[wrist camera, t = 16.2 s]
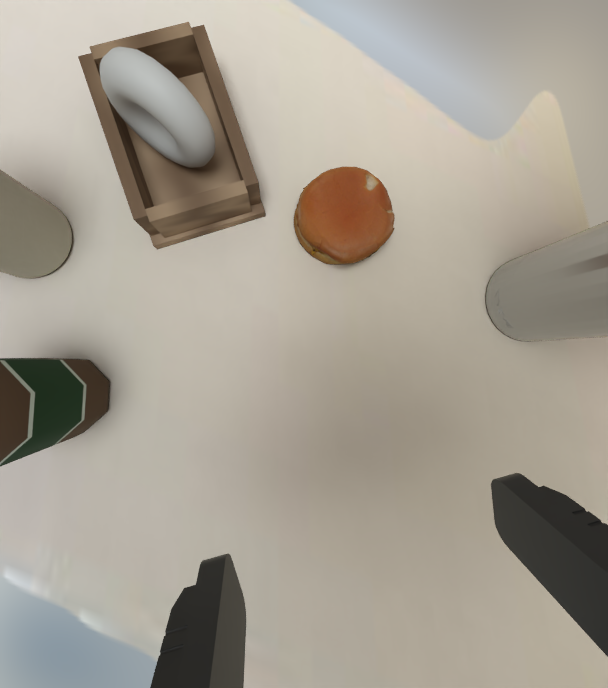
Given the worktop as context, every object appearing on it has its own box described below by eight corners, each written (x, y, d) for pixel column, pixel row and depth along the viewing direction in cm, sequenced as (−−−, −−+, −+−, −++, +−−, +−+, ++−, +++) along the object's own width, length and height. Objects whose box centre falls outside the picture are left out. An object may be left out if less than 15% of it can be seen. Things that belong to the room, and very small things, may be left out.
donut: (230, 164, 34) (210, 84, 24) (212, 192, 34) (184, 123, 24) (145, 109, 33) (89, 4, 24) (125, 137, 33) (60, 43, 23)
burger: (282, 249, 35) (283, 232, 31) (312, 169, 36) (318, 141, 31) (368, 282, 36) (382, 271, 31) (396, 203, 36) (414, 181, 32)
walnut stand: (212, 62, 35) (201, 14, 30) (265, 215, 35) (263, 192, 30) (103, 91, 34) (73, 46, 29) (157, 249, 34) (136, 230, 29)
